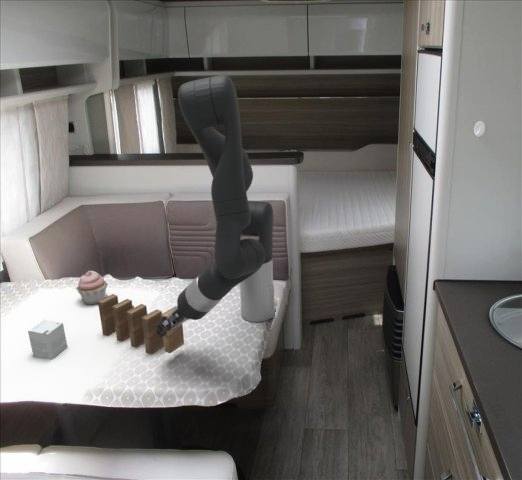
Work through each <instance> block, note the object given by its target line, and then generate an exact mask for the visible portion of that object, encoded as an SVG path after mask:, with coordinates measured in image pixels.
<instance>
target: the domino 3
mask: <svg viewBox="0 0 522 480" xmlns="http://www.w3.org/2000/svg"><path fill="white" fill-rule="evenodd" d="M147 314H148V309H147V305H146V304H143V303H140V304H139V305H137V306H134V308H133V309H131V310H129V311H127V319H128V327H129V334H130V337H129V340H130V347H131V348H135V349H137V348H139V347H141V346H143V345H145V341H144V333H143V324H142V317H144V316H145V315H147Z"/></svg>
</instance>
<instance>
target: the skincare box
mask: <svg viewBox="0 0 522 480" xmlns="http://www.w3.org/2000/svg"><path fill="white" fill-rule="evenodd" d="M27 332H28V333H27V334H28V338H29V343H30V347H31V352H32V356H34V357H37V358H39V357H40V358H44V359H50V360H53V359H54V358H56V357H57V356H58V355H59V354H61V353H62V352H63V351H64V350H65V349H66V348H68V344H67V343H68V342H67V337H66V333H65V327H64V323H63V322H60V321H55V320H49V319H43V320H42V321H40V322H39V323H37V324H36V325H34V326H33V327H31V328H30V329H29V330H27Z"/></svg>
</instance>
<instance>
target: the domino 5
mask: <svg viewBox="0 0 522 480" xmlns="http://www.w3.org/2000/svg"><path fill="white" fill-rule="evenodd" d="M176 306H177V305H176ZM176 306H174V307H172V308H171V309H168V310H166V311H165V312H162V314H161V319H162V318H163V317H165V316H167V315H169V314H170V313H171V312H172V311H173V309H174V308H175V307H176ZM174 321H175V320H174ZM175 322H176V321H175ZM176 323H178V322H176ZM183 324H184V323H182V324H180V325H179V326H178V327H176V328H172V329H171V330H170V331H169V332H167V333H166V334H165V335H164V336H163V341H164V347H163V348H164V352H165V353H168V354H172V353H174V352H175V351H176V350H178V349H179V348H181V347H182V346H184V345H185V338H184V337H185V336H184V328H183Z"/></svg>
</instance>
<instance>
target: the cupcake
mask: <svg viewBox="0 0 522 480" xmlns="http://www.w3.org/2000/svg"><path fill="white" fill-rule="evenodd" d="M108 284H109V283H108V282H107V281H106V280H105V279H104V277H103V276H102V275H100V274H99V272H96V271H94V270H88V271H87V272H85V273H84V274H83V275H81V276H80V278H79V281H78V284H77V287H75V289H76V290H77V293H78V294H79V295H80V297H81V300H82V301H83V303H84V304H86V305H96V304H97V305H98V301H99V300H101V299H103V298H105V297H106V291H107V288H108Z"/></svg>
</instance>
